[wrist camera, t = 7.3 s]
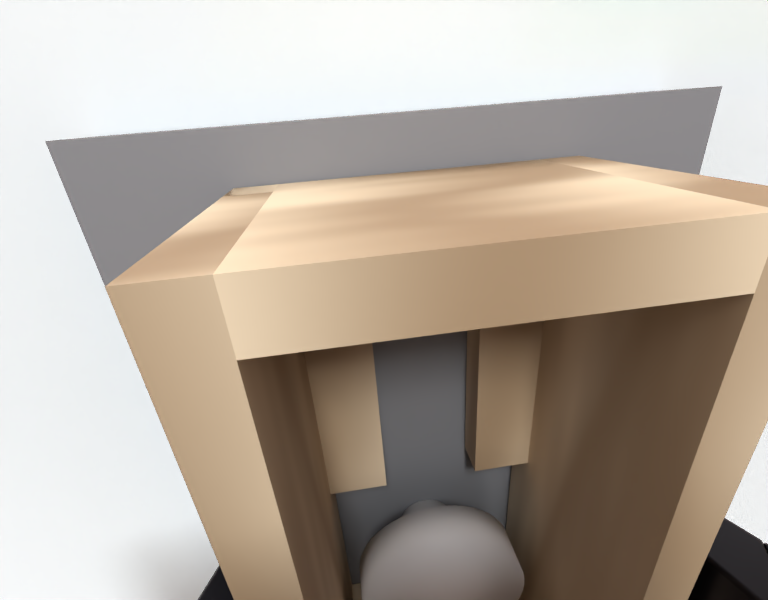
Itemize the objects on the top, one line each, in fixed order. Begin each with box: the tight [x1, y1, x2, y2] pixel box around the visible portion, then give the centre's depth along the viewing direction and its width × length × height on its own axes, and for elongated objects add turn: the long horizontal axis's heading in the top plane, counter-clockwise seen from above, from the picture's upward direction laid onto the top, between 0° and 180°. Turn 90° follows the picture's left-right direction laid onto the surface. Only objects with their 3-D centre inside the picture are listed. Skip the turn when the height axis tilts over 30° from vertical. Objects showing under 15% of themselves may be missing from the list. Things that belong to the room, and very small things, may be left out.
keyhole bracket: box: [105, 156, 768, 600], centre depth 8 cm, size 6×13×4 cm, turn 4°
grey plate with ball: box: [45, 86, 722, 600], centre depth 11 cm, size 12×21×4 cm, turn 4°
